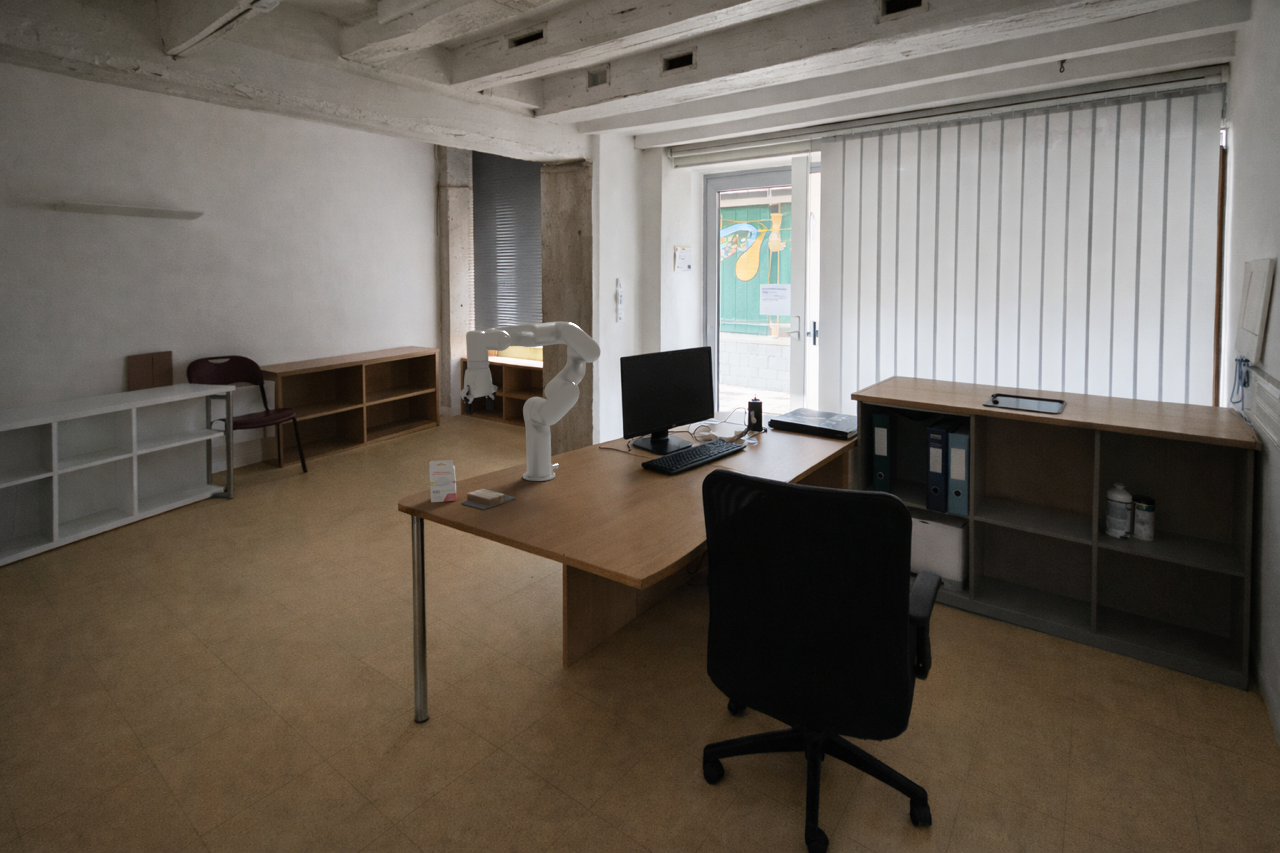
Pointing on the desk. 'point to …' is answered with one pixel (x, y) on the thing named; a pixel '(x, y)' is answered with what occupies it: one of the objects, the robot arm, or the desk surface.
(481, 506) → the mat
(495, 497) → the tile
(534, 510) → the desk surface
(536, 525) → the desk surface
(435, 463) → the ink cartridge box
